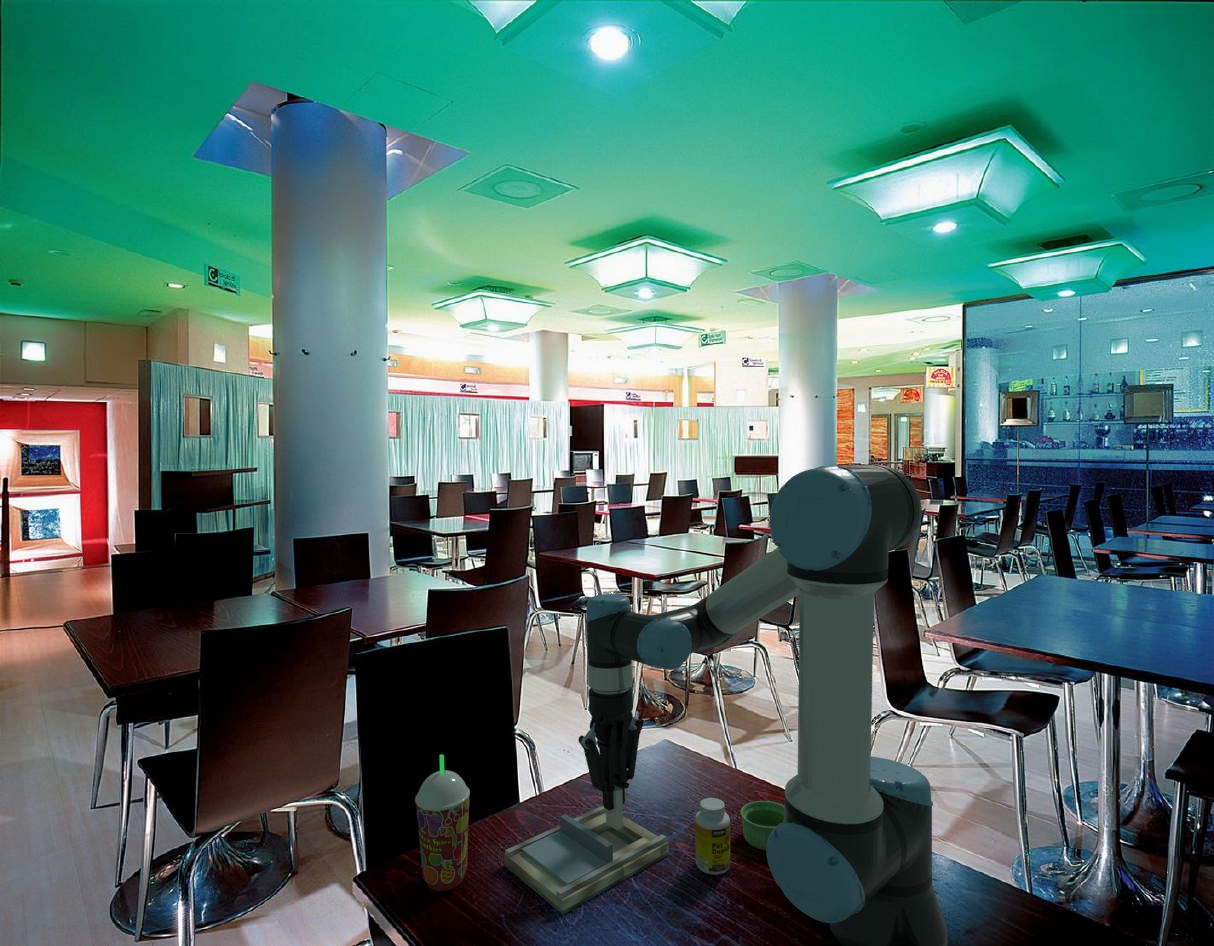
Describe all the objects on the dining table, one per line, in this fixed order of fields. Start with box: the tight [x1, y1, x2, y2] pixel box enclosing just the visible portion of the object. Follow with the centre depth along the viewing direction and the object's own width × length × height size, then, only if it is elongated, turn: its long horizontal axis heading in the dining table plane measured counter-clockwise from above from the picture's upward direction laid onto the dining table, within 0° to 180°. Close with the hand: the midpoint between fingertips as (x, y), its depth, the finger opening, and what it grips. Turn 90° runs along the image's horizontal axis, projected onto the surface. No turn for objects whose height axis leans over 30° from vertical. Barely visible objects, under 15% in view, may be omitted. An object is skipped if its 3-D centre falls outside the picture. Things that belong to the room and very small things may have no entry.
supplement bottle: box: [694, 797, 731, 876], centre depth 110 cm, size 6×6×10 cm
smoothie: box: [414, 754, 471, 892], centre depth 108 cm, size 8×8×20 cm
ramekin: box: [739, 800, 785, 851], centre depth 118 cm, size 9×9×4 cm
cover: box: [522, 813, 613, 886], centre depth 110 cm, size 9×12×3 cm
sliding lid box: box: [503, 805, 670, 915], centre depth 113 cm, size 22×16×3 cm
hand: (614, 825), depth 116 cm, fingers closed
